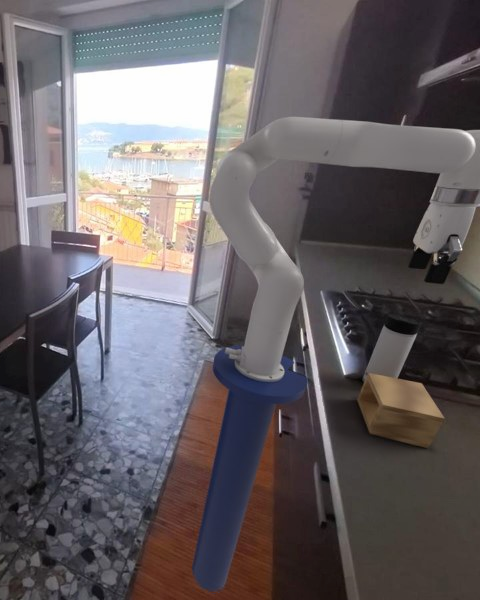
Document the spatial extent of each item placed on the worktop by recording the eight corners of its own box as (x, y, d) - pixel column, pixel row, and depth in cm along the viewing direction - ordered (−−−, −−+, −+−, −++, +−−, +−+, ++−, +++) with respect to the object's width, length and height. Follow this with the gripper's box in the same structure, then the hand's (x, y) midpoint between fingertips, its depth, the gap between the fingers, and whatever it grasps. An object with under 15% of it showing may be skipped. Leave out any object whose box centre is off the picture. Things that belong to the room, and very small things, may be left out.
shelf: (369, 433, 77) (382, 404, 74) (357, 399, 87) (367, 372, 84) (428, 448, 74) (445, 418, 70) (408, 411, 84) (421, 383, 80)
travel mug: (358, 384, 93) (385, 316, 84) (365, 373, 97) (391, 308, 88) (388, 396, 88) (420, 326, 80) (394, 384, 92) (425, 316, 84)
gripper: (417, 190, 81) (391, 261, 88) (452, 202, 67) (417, 286, 74) (461, 191, 78) (430, 265, 85) (506, 204, 64) (465, 292, 71)
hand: (424, 275), depth 80 cm, fingers open, 9 cm apart
